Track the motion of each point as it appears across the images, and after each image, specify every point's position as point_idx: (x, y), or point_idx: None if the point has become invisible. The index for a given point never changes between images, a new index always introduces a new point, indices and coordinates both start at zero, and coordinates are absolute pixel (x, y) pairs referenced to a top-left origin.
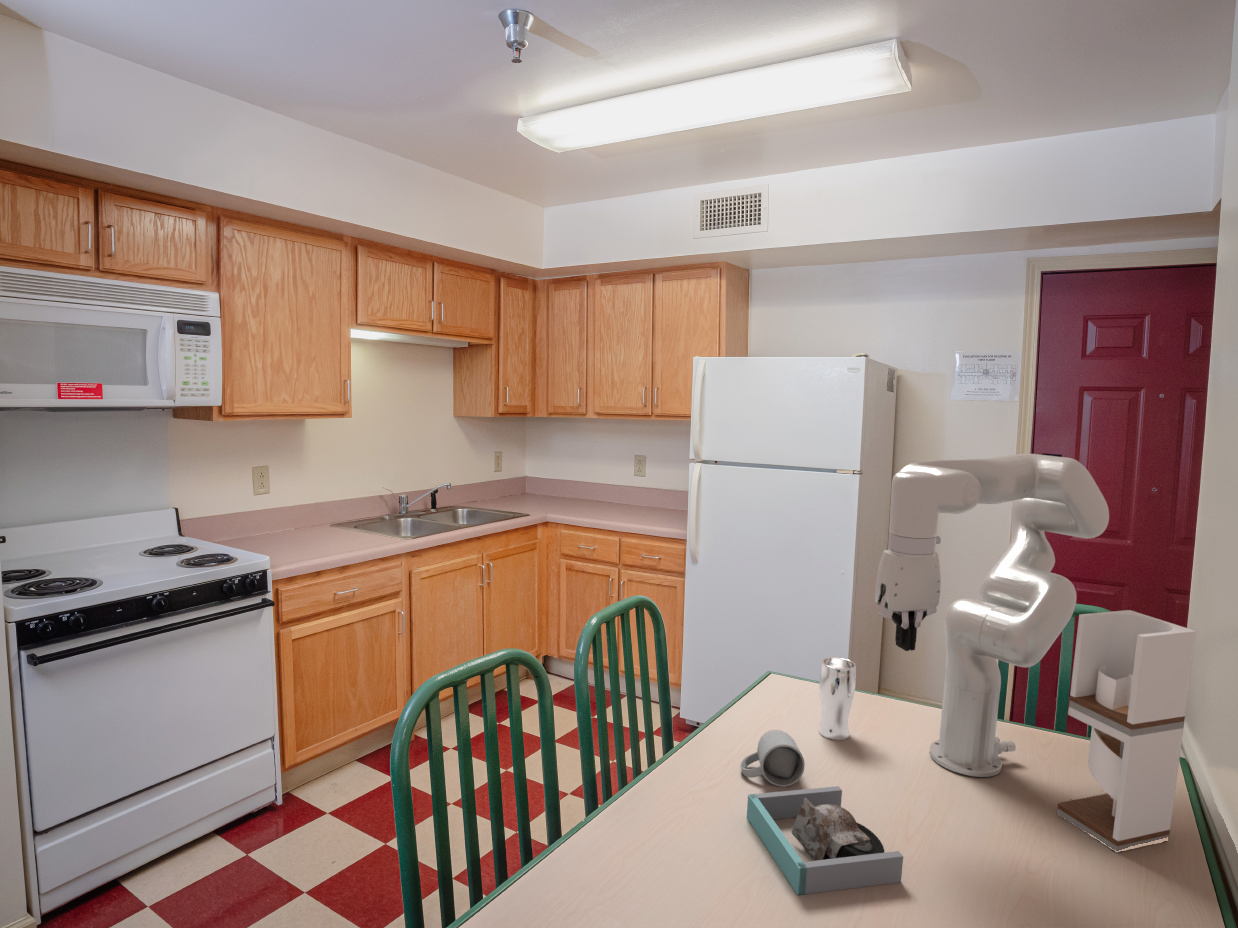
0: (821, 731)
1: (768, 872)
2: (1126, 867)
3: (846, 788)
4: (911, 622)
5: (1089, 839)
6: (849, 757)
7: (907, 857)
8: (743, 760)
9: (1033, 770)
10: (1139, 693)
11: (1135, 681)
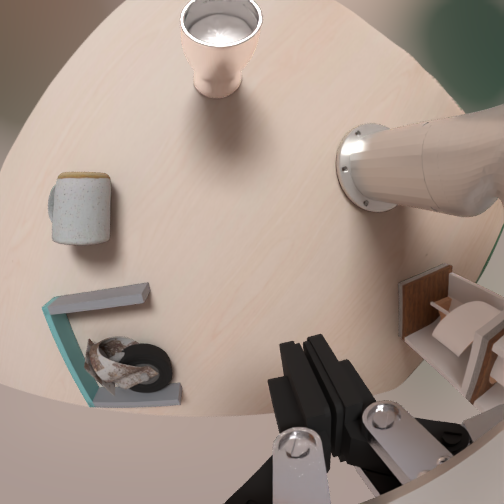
0: (193, 81)
1: None
2: (390, 352)
3: (174, 236)
4: (356, 462)
5: (394, 320)
6: (211, 149)
7: (201, 361)
8: (51, 191)
9: None
10: None
11: None
